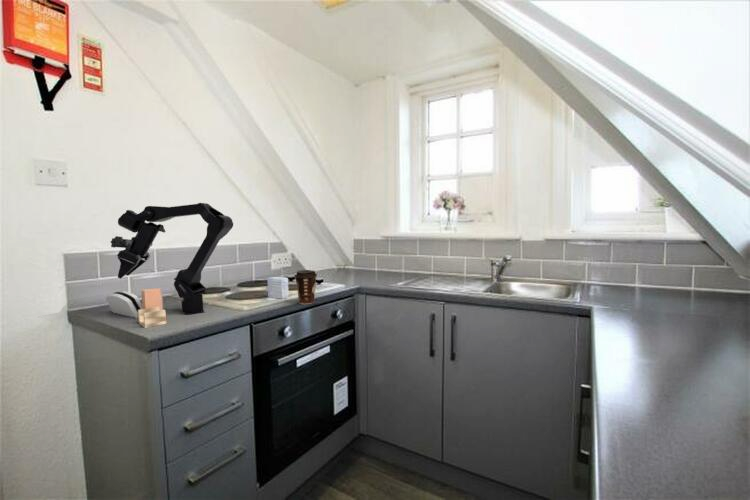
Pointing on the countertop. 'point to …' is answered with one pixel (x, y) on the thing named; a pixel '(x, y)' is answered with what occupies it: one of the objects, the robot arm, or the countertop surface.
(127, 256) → the robot arm
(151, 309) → the tan wooden block
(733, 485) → the countertop surface
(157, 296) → the peach tall block
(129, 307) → the white dark-banded wedge
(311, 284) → the coffee cup
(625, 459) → the countertop surface
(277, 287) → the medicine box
